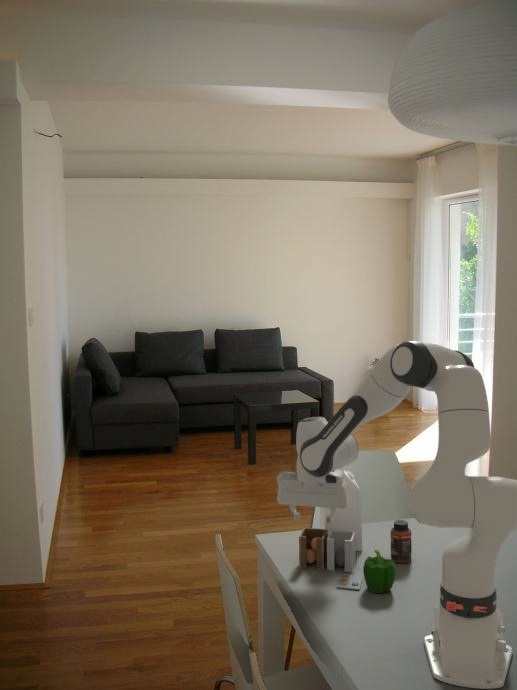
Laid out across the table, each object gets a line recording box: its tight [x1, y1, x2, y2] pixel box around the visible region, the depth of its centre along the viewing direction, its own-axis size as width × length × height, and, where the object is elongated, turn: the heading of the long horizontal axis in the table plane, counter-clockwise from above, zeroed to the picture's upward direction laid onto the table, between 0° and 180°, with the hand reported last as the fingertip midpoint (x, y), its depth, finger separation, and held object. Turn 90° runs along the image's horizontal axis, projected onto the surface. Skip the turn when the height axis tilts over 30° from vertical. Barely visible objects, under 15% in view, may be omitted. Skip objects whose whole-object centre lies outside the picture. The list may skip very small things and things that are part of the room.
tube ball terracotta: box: [306, 549, 317, 564], centre depth 203 cm, size 4×4×4 cm
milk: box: [319, 466, 364, 552], centre depth 215 cm, size 12×12×26 cm
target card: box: [336, 573, 364, 591], centre depth 190 cm, size 8×6×1 cm
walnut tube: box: [298, 527, 328, 570], centre depth 202 cm, size 7×7×9 cm
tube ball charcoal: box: [334, 552, 345, 567], centre depth 200 cm, size 4×4×4 cm
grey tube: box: [326, 530, 357, 573], centre depth 200 cm, size 7×7×9 cm
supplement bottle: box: [390, 519, 413, 564], centre depth 203 cm, size 6×6×11 cm
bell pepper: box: [363, 549, 396, 594], centre depth 185 cm, size 8×8×10 cm
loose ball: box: [311, 537, 320, 551], centre depth 203 cm, size 4×4×4 cm
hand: (313, 520), depth 201 cm, fingers open, 8 cm apart
